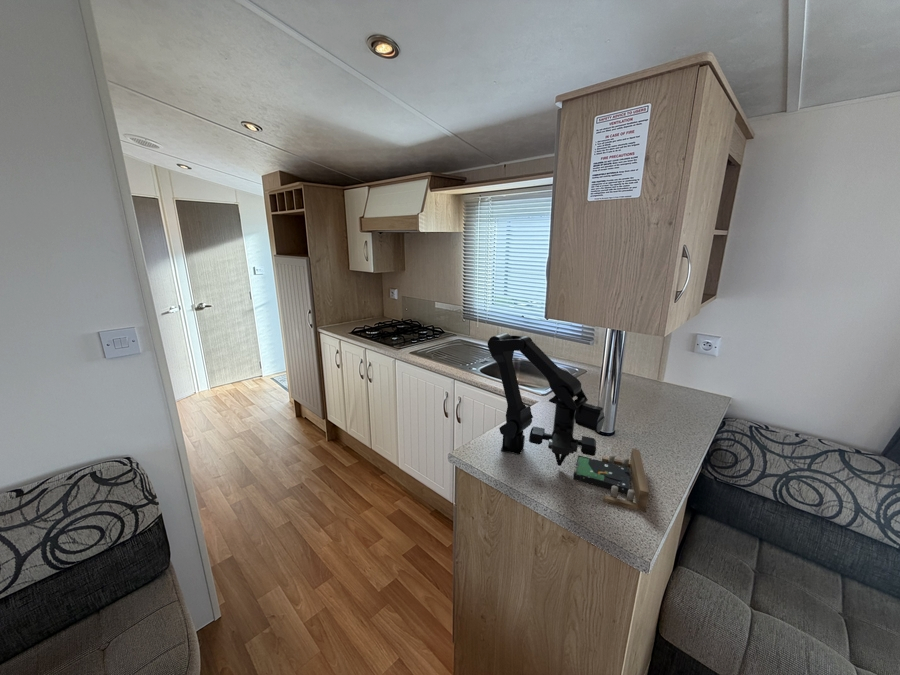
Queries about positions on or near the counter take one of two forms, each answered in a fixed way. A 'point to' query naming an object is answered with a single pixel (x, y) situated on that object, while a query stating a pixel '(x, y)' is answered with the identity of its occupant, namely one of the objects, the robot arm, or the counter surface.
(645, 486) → the drive tray
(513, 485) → the counter surface
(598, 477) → the disk drive
